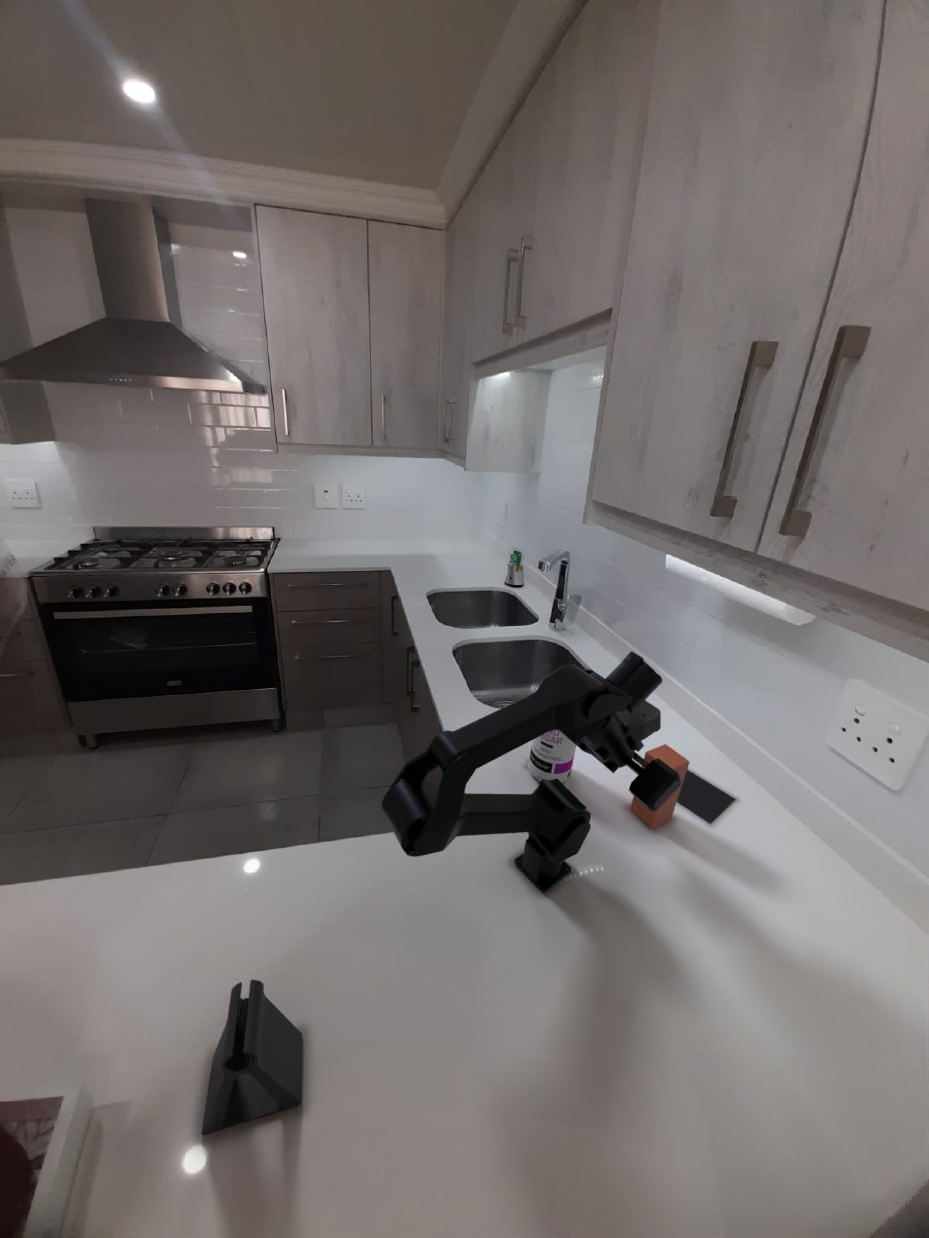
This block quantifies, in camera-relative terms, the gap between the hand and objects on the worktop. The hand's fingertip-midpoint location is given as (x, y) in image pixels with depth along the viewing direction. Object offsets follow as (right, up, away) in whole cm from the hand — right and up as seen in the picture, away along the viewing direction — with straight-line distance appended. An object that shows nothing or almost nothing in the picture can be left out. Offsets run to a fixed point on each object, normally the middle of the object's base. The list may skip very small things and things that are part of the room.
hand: (632, 776), depth 78 cm
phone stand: (-48, -22, -28) cm, 60 cm away
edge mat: (+16, -8, +15) cm, 23 cm away
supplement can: (-11, -5, +17) cm, 21 cm away
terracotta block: (+6, -10, +9) cm, 14 cm away
